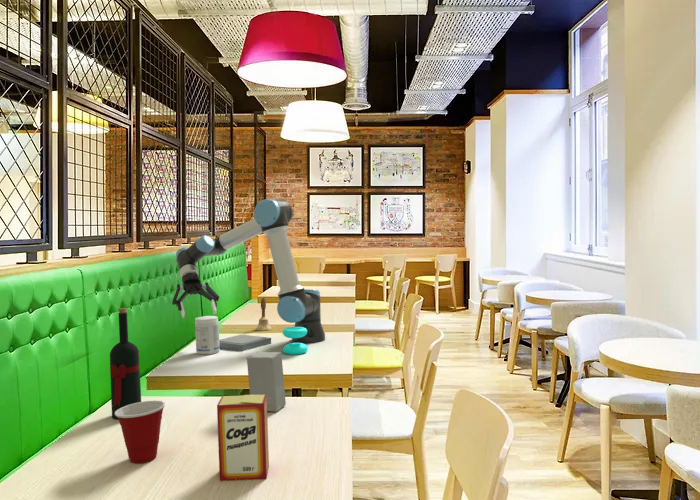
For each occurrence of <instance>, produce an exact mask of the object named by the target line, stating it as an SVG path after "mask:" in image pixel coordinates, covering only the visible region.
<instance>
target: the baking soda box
mask: <svg viewBox="0 0 700 500" xmlns="http://www.w3.org/2000/svg"><path fill="white" fill-rule="evenodd" d="M216 409H217V411H216V415H217V417H216V418H217V439H218V440H217V441H218V445H217V446H218V466H219V467H218V469H219V470H218V471H219V473H218V474H219V482H229V481H231V482H233V481H250V480H252V481H253V480H267V478H268V473H269V467H270V459H269V458H270V457H269V455H270V454H269V425H268V422H269V421H268V411H267V394H266V395H250V394H244V395H226V396H225V395H223V396H221V398H220V399H219V401H218V403H217V405H216Z"/></svg>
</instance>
